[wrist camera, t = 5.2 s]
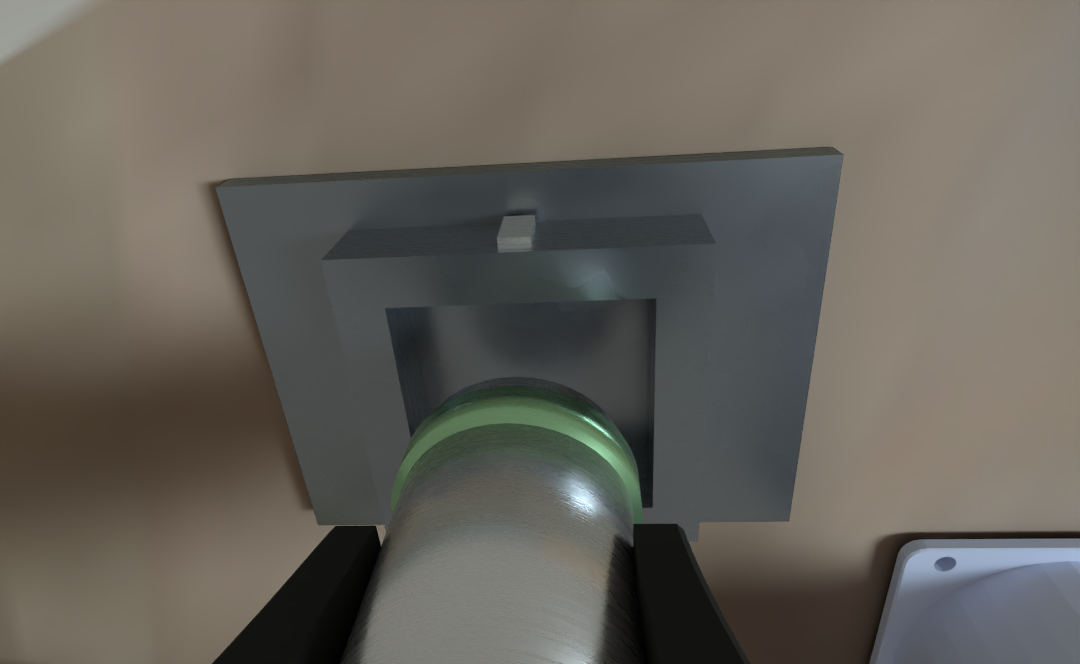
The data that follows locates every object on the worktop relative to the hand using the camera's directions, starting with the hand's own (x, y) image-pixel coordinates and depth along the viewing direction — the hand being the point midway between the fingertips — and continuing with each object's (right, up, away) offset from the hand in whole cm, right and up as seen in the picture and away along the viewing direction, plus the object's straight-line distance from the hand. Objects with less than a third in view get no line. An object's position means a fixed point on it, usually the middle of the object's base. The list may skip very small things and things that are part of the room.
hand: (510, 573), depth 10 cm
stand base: (0, +3, +5) cm, 6 cm away
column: (0, +1, +2) cm, 2 cm away
